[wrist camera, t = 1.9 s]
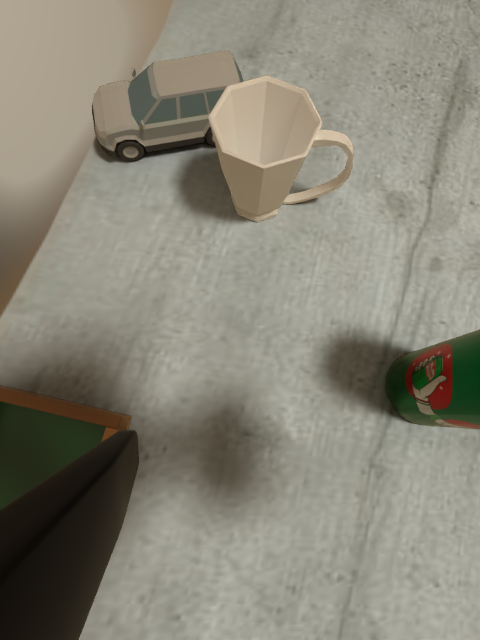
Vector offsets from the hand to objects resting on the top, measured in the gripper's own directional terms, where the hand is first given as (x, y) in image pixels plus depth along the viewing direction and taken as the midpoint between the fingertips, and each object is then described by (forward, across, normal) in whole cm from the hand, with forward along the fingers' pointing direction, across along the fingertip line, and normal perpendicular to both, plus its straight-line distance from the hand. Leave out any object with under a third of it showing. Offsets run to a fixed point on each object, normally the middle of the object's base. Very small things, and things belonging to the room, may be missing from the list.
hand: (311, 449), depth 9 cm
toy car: (+27, +8, -13) cm, 31 cm away
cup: (+23, -1, -7) cm, 24 cm away
